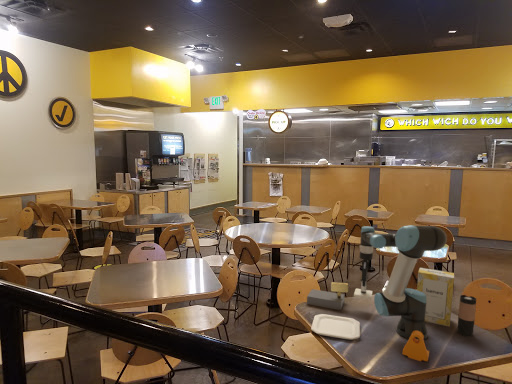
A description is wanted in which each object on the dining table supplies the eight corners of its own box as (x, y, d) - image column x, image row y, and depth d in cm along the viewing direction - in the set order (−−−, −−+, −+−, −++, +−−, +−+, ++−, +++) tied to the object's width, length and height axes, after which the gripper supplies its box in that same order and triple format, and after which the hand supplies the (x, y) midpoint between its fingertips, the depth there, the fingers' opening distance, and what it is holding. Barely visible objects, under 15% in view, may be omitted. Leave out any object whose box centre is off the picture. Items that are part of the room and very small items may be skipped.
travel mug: (464, 337, 193) (468, 300, 191) (453, 330, 200) (456, 295, 198) (476, 336, 195) (480, 299, 193) (464, 329, 202) (468, 294, 201)
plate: (359, 323, 206) (359, 319, 206) (359, 344, 182) (360, 339, 182) (315, 316, 213) (315, 312, 212) (309, 335, 189) (310, 331, 189)
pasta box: (414, 318, 214) (418, 272, 211) (416, 312, 223) (419, 267, 220) (449, 326, 205) (454, 277, 203) (449, 319, 215) (454, 273, 212)
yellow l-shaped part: (330, 297, 228) (331, 283, 227) (329, 291, 238) (330, 278, 237) (347, 298, 227) (348, 284, 226) (345, 293, 237) (346, 279, 236)
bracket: (428, 356, 173) (431, 331, 172) (427, 363, 167) (429, 337, 166) (404, 349, 178) (406, 325, 177) (402, 356, 172) (404, 331, 171)
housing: (340, 310, 222) (341, 302, 222) (306, 304, 229) (307, 296, 229) (343, 302, 235) (344, 294, 235) (311, 296, 242) (312, 289, 242)
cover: (371, 299, 216) (372, 280, 215) (353, 296, 219) (355, 277, 218) (372, 293, 226) (373, 275, 225) (355, 290, 229) (356, 272, 228)
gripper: (361, 248, 229) (358, 284, 231) (358, 254, 214) (355, 293, 216) (373, 249, 226) (370, 286, 229) (371, 256, 211) (369, 295, 213)
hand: (363, 290), depth 222 cm, fingers closed on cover, 3 cm apart
